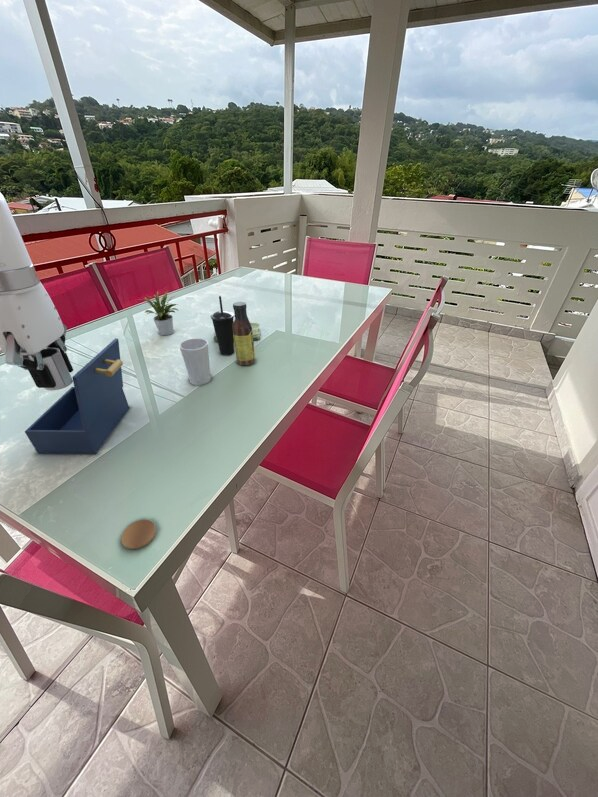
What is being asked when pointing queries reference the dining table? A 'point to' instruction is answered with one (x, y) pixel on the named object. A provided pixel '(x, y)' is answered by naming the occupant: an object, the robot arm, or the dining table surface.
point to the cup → (196, 360)
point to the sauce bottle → (243, 335)
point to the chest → (74, 426)
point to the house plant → (162, 314)
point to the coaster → (138, 534)
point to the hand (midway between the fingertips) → (56, 378)
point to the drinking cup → (224, 330)
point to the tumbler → (55, 367)
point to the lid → (98, 383)
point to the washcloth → (254, 329)
